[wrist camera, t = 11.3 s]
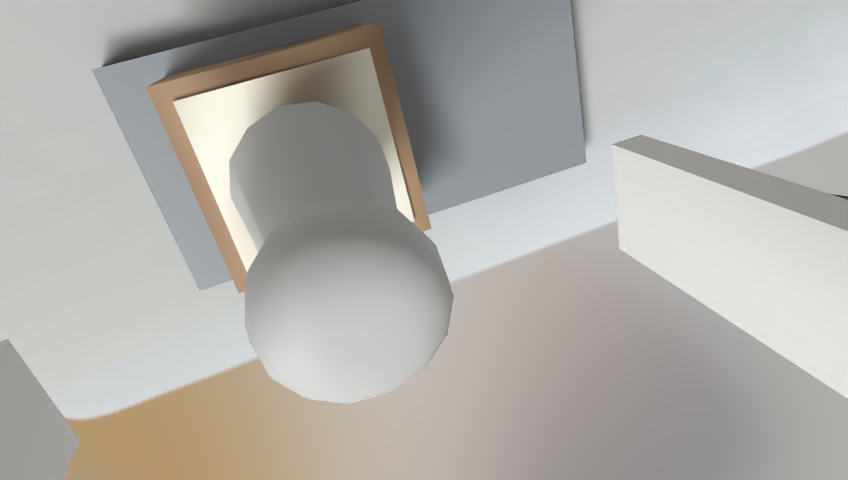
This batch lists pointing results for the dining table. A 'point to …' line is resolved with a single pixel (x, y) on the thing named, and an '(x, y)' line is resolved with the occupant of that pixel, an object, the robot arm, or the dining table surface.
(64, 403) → the dining table surface
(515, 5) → the build plate
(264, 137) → the salt shaker
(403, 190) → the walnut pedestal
